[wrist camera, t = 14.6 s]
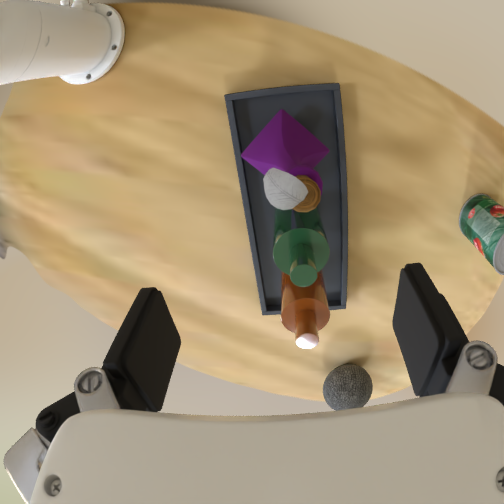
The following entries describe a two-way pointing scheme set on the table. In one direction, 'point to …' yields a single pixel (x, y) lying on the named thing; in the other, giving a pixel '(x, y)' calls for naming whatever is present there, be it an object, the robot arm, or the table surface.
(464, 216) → the canned tomato
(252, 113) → the tray
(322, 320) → the amber bottle
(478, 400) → the robot arm
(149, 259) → the table surface
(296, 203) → the perfume bottle
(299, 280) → the green bottle
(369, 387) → the decorative ball
